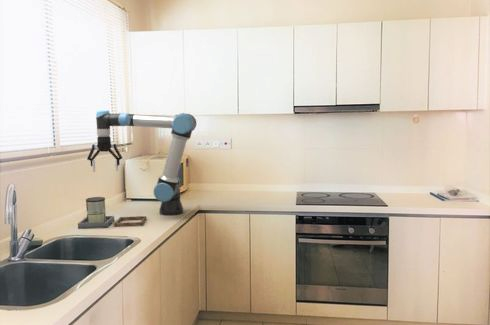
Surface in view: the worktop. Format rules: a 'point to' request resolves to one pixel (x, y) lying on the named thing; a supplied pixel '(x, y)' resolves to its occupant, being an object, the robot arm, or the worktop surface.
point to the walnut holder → (118, 224)
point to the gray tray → (96, 223)
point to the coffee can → (96, 209)
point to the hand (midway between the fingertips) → (105, 171)
